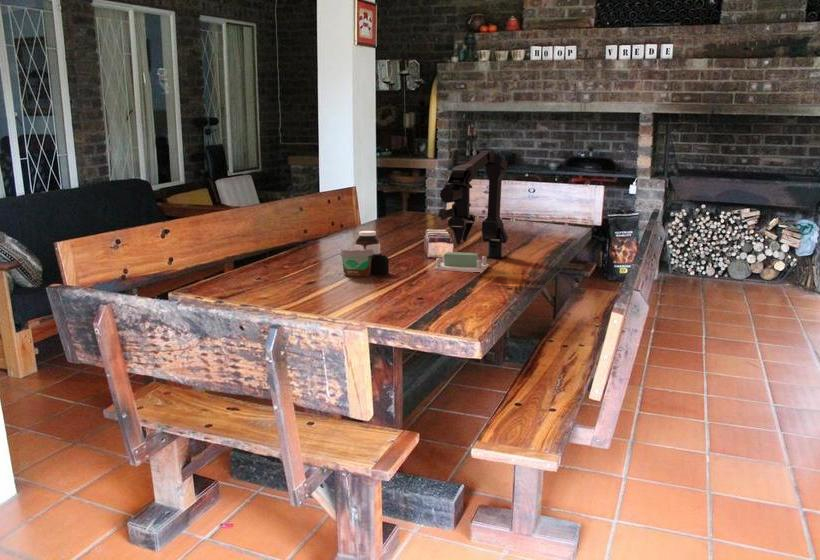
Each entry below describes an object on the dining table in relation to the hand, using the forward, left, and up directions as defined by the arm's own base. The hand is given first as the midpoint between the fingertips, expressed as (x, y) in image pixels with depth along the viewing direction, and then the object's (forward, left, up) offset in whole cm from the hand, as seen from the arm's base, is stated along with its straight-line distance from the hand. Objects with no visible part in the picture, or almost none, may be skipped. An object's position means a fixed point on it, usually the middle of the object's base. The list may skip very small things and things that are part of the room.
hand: (461, 242), depth 274 cm
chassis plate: (0, 0, -10) cm, 10 cm away
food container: (+26, -32, -10) cm, 43 cm away
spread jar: (-9, -42, -10) cm, 45 cm away
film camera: (+18, -30, -10) cm, 37 cm away
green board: (0, 0, -9) cm, 9 cm away
